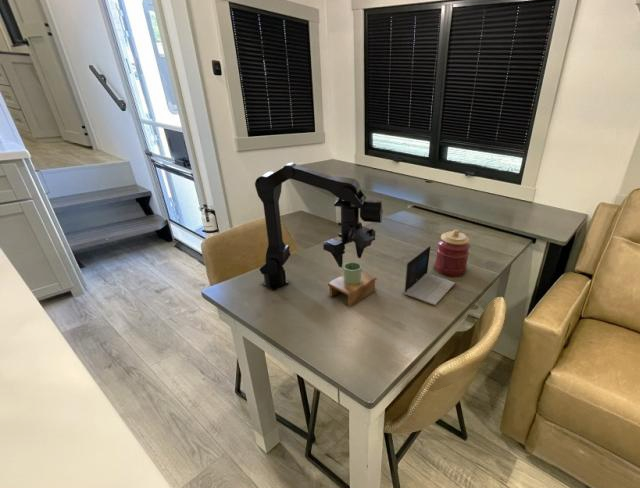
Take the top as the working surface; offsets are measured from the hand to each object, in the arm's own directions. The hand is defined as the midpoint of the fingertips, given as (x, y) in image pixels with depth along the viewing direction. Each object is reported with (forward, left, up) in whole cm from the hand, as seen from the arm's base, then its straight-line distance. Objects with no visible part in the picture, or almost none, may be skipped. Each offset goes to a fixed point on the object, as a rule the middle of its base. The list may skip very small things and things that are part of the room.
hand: (350, 262), depth 113 cm
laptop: (+20, -21, -12) cm, 32 cm away
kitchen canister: (+40, -20, -12) cm, 46 cm away
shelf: (0, -2, -12) cm, 12 cm away
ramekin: (0, -2, -6) cm, 6 cm away
